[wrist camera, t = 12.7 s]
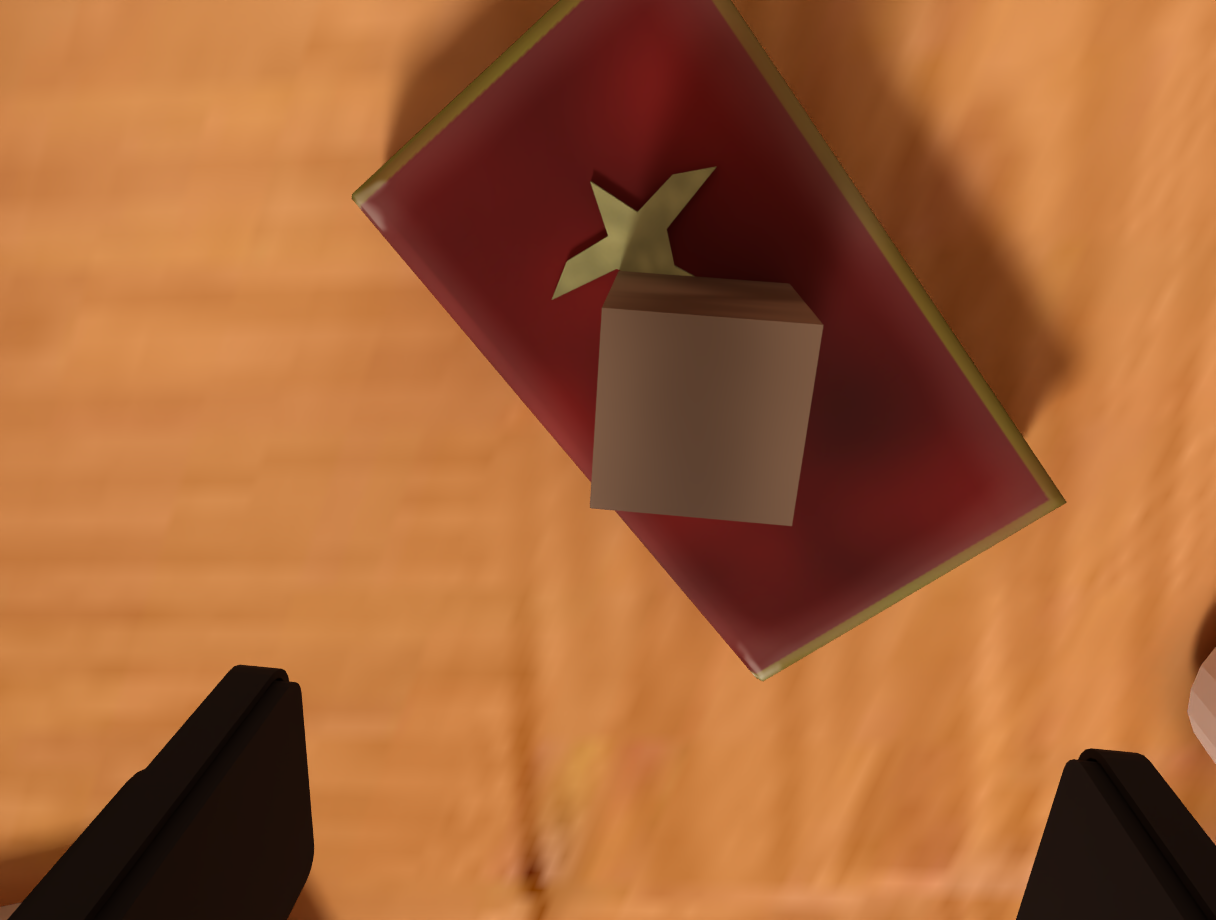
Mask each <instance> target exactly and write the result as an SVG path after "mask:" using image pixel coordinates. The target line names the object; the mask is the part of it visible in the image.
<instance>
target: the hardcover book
mask: <svg viewBox="0 0 1216 920" xmlns="http://www.w3.org/2000/svg"><path fill="white" fill-rule="evenodd" d="M352 199H353V201H354V202H355V203H356V204H357V205H358V207H359V208H360V209H361V210H362V211H363V213H364V214H365V215H366V216H367V217H368V218H369V220H370V221H371V222H372V223H373V224H374V226H375V227H376V228H377V229H378V230H379V231H380V233H381V234H382V235H383V236H384V237H385V239H386V240H387V241H388V242H389V243H390V245H391V246H392V247H393V248H394V249H395V250H396V252H397V253H398V254H399V255H400V256H401V258H402V259H403V260H404V261H405V262H406V263H407V265H408V266H409V267H410V268H411V269H412V271H413V272H414V273H415V274H416V275H417V277H418V278H419V279H420V280H421V281H422V282H423V284H424V285H425V286H426V287H427V288H428V290H429V291H430V292H431V293H432V294H433V295H434V297H435V298H436V299H437V300H438V301H439V303H440V304H441V305H442V306H443V307H444V309H445V310H446V311H447V312H448V313H449V314H450V316H451V317H452V318H453V319H454V320H455V322H456V323H457V324H458V325H459V326H460V327H461V329H462V330H463V331H464V332H465V333H466V335H467V336H468V337H469V338H470V339H471V341H472V342H473V343H474V344H475V345H476V346H477V348H478V349H479V350H480V351H481V352H482V354H483V355H484V356H485V357H486V358H487V359H488V361H489V362H490V363H491V364H492V365H493V367H494V368H495V369H496V370H497V371H498V373H499V374H500V375H501V376H502V377H503V378H504V380H505V381H506V382H507V383H508V384H509V386H510V387H511V388H512V389H513V390H514V391H515V393H516V394H517V395H518V396H519V397H520V399H521V400H522V401H523V402H524V403H525V405H526V406H527V407H528V408H529V409H530V410H531V412H532V413H533V414H534V415H535V416H536V418H537V419H538V420H539V421H540V422H541V423H542V425H543V426H544V427H545V428H546V429H547V431H548V432H549V433H550V434H551V435H552V437H553V438H554V439H555V440H556V441H557V442H558V444H559V445H560V446H561V447H562V448H563V450H564V451H565V452H566V453H567V454H568V455H569V457H570V458H571V459H572V460H573V461H574V463H575V464H576V465H577V466H578V467H579V469H580V470H581V471H582V472H583V473H584V474H585V476H586V477H587V478H588V479H589V480H590V482H591V481H592V464H593V448H594V431H595V414H596V398H597V381H598V365H599V348H600V331H601V315H602V307H603V304H604V302H605V300H606V298H607V296H608V293H609V291H610V289H611V287H612V285H613V282H614V280H615V278H616V276H617V274H618V272H619V271H628V272H641V273H655V274H668V275H681V276H695V277H708V278H721V279H735V280H748V281H761V282H775V283H788V284H790V285H791V286H792V287H793V289H794V290H795V291H796V292H797V293H798V295H799V296H800V297H801V298H802V299H803V301H804V302H805V303H806V304H807V306H808V307H809V308H810V309H811V310H812V312H813V313H814V314H815V315H816V316H817V318H818V319H819V320H820V321H821V323H822V324H823V331H822V337H821V344H820V350H819V357H818V363H817V369H816V376H815V382H814V388H813V395H812V401H811V408H810V414H809V420H808V427H807V433H806V439H805V446H804V452H803V458H802V465H801V471H800V478H799V484H798V490H797V497H796V503H795V509H794V516H793V522H792V526H785V525H774V524H763V523H751V522H740V521H729V520H718V519H706V518H695V517H684V516H673V515H661V514H650V513H639V512H628V511H617V510H615V511H616V512H617V514H618V515H619V516H620V517H621V518H622V520H623V521H624V522H625V523H626V524H627V525H628V527H629V528H630V529H631V530H632V531H633V533H634V534H635V535H636V536H637V537H638V538H639V540H640V541H641V542H642V543H643V544H644V546H645V547H646V548H647V549H648V550H649V552H650V553H651V554H652V555H653V556H654V557H655V559H656V560H657V561H658V562H659V563H660V565H661V566H662V567H663V568H664V569H665V570H666V572H667V573H668V574H669V575H670V576H671V578H672V579H673V580H674V581H675V582H676V584H677V585H678V586H679V587H680V588H681V589H682V591H683V592H684V593H685V594H686V595H687V597H688V598H689V599H690V600H691V601H692V602H693V604H694V605H695V606H696V607H697V608H698V610H699V611H700V612H701V613H702V614H703V616H704V617H705V618H706V619H707V620H708V621H709V623H710V624H711V625H712V626H713V627H714V629H715V630H716V631H717V632H718V633H719V634H720V636H721V637H722V638H723V639H724V640H725V642H726V643H727V644H728V645H729V646H730V648H731V649H732V650H733V651H734V652H735V653H736V655H737V656H738V657H739V658H740V659H741V661H742V662H743V663H744V664H745V665H746V666H747V668H748V669H749V670H750V671H751V672H752V674H753V675H754V676H755V677H756V678H757V679H759V680H761V681H764V680H766V679H768V678H770V677H771V676H773V675H775V674H776V673H778V672H780V671H781V670H783V669H785V668H787V667H788V666H790V665H792V664H793V663H795V662H797V661H798V660H800V659H802V658H803V657H805V656H807V655H809V654H810V653H812V652H814V651H815V650H817V649H819V648H820V647H822V646H824V645H826V644H827V643H829V642H831V641H832V640H834V639H836V638H837V637H839V636H841V635H843V634H844V633H846V632H848V631H849V630H851V629H853V628H854V627H856V626H858V625H859V624H861V623H863V622H865V621H866V620H868V619H870V618H871V617H873V616H875V615H876V614H878V613H880V612H882V611H883V610H885V609H887V608H888V607H890V606H892V605H893V604H895V603H897V602H899V601H900V600H902V599H904V598H905V597H907V596H909V595H910V594H912V593H914V592H916V591H917V590H919V589H921V588H922V587H924V586H926V585H927V584H929V583H931V582H932V581H934V580H936V579H938V578H939V577H941V576H943V575H944V574H946V573H948V572H949V571H951V570H953V569H955V568H956V567H958V566H960V565H961V564H963V563H965V562H966V561H968V560H970V559H972V558H973V557H975V556H977V555H978V554H980V553H982V552H983V551H985V550H987V549H989V548H990V547H992V546H994V545H995V544H997V543H999V542H1000V541H1002V540H1004V539H1005V538H1007V537H1009V536H1011V535H1012V534H1014V533H1016V532H1017V531H1019V530H1021V529H1022V528H1024V527H1026V526H1028V525H1029V524H1031V523H1033V522H1034V521H1036V520H1038V519H1039V518H1041V517H1043V516H1045V515H1046V514H1048V513H1050V512H1051V511H1053V510H1055V509H1056V508H1058V507H1060V506H1061V505H1063V504H1065V503H1067V502H1066V501H1065V499H1064V498H1063V496H1062V495H1061V493H1060V492H1059V490H1058V489H1057V487H1056V486H1055V484H1054V483H1053V481H1052V480H1051V478H1050V477H1049V475H1048V474H1047V472H1046V471H1045V469H1044V468H1043V466H1042V465H1041V463H1040V462H1039V460H1038V459H1037V457H1036V456H1035V454H1034V453H1033V451H1032V450H1031V448H1030V447H1029V445H1028V444H1027V442H1026V441H1025V439H1024V438H1023V436H1022V435H1021V433H1020V432H1019V430H1018V429H1017V427H1016V426H1015V424H1014V423H1013V421H1012V420H1011V418H1010V417H1009V415H1008V414H1007V412H1006V411H1005V409H1004V408H1003V406H1002V405H1001V403H1000V402H999V400H998V399H997V397H996V396H995V394H994V393H993V392H992V390H991V389H990V387H989V386H988V384H987V383H986V381H985V380H984V378H983V377H982V375H981V374H980V372H979V371H978V369H977V368H976V366H975V365H974V363H973V362H972V360H971V359H970V357H969V356H968V354H967V353H966V351H965V350H964V348H963V347H962V345H961V344H960V342H959V341H958V339H957V338H956V336H955V335H954V333H953V332H952V330H951V329H950V327H949V326H948V324H947V323H946V321H945V320H944V318H943V317H942V315H941V314H940V312H939V311H938V309H937V308H936V306H935V305H934V303H933V302H932V300H931V299H930V297H929V296H928V294H927V293H926V291H925V290H924V288H923V287H922V285H921V284H920V282H919V281H918V279H917V278H916V276H915V275H914V273H913V272H912V270H911V269H910V267H909V266H908V264H907V263H906V261H905V260H904V258H903V257H902V255H901V254H900V252H899V251H898V249H897V248H896V246H895V245H894V243H893V242H892V240H891V239H890V237H889V236H888V234H887V233H886V231H885V230H884V229H883V227H882V226H881V224H880V223H879V221H878V220H877V218H876V217H875V215H874V214H873V212H872V211H871V209H870V208H869V206H868V205H867V203H866V202H865V200H864V199H863V197H862V196H861V194H860V193H859V191H858V190H857V188H856V187H855V185H854V184H853V182H852V181H851V179H850V178H849V176H848V175H847V173H846V172H845V170H844V169H843V167H842V166H841V164H840V163H839V161H838V160H837V158H836V157H835V155H834V154H833V152H832V151H831V149H830V148H829V146H828V145H827V143H826V142H825V140H824V139H823V137H822V136H821V134H820V133H819V131H818V130H817V128H816V127H815V125H814V124H813V122H812V121H811V119H810V118H809V116H808V115H807V113H806V112H805V110H804V109H803V107H802V106H801V104H800V103H799V101H798V100H797V98H796V97H795V95H794V94H793V92H792V91H791V89H790V88H789V86H788V85H787V83H786V82H785V80H784V79H783V77H782V76H781V74H780V73H779V71H778V70H777V68H776V67H775V66H774V64H773V63H772V61H771V60H770V58H769V57H768V55H767V54H766V52H765V51H764V49H763V48H762V46H761V45H760V43H759V42H758V40H757V39H756V37H755V36H754V34H753V33H752V31H751V30H750V28H749V27H748V25H747V24H746V22H745V21H744V19H743V18H742V16H741V15H740V13H739V12H738V10H737V9H736V7H735V6H734V4H733V3H732V1H731V0H560V1H558V2H557V3H556V4H555V5H554V6H553V7H552V8H551V9H550V10H549V11H548V12H547V13H546V14H545V15H544V16H542V17H541V18H540V19H539V20H538V21H537V22H536V23H535V24H534V25H533V26H532V27H531V28H530V29H529V30H527V31H526V32H525V33H524V34H523V35H522V36H521V37H520V38H519V39H518V40H517V41H516V42H515V43H514V44H512V45H511V46H510V47H509V48H508V49H507V50H506V51H505V52H504V53H503V54H502V55H501V56H500V57H499V58H497V59H496V60H495V61H494V62H493V63H492V64H491V65H490V66H489V67H488V68H487V69H486V70H485V71H484V72H482V73H481V74H480V75H479V76H478V77H477V78H476V79H475V80H474V81H473V82H472V83H471V84H470V85H469V86H467V87H466V88H465V89H464V90H463V91H462V92H461V93H460V94H459V95H458V96H457V97H456V98H455V99H454V100H452V101H451V102H450V103H449V104H448V105H447V106H446V107H445V108H444V109H443V110H442V111H441V112H440V113H439V114H437V115H436V116H435V117H434V118H433V119H432V120H431V121H430V122H429V123H428V124H427V125H426V126H425V127H424V128H422V129H421V130H420V131H419V132H418V133H417V134H416V135H415V136H414V137H413V138H412V139H411V140H410V141H409V142H407V143H406V144H405V145H404V146H403V147H402V148H401V149H400V150H399V151H398V152H397V153H396V154H395V155H394V156H393V157H391V158H390V159H389V160H388V161H387V162H386V163H385V164H384V165H383V166H382V167H381V168H380V169H379V170H378V171H376V172H375V173H374V174H373V175H372V176H371V177H370V178H369V179H368V180H367V181H366V182H365V183H364V184H363V185H361V186H360V187H359V188H358V189H357V190H356V191H355V192H354V193H353V194H352Z"/></svg>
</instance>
